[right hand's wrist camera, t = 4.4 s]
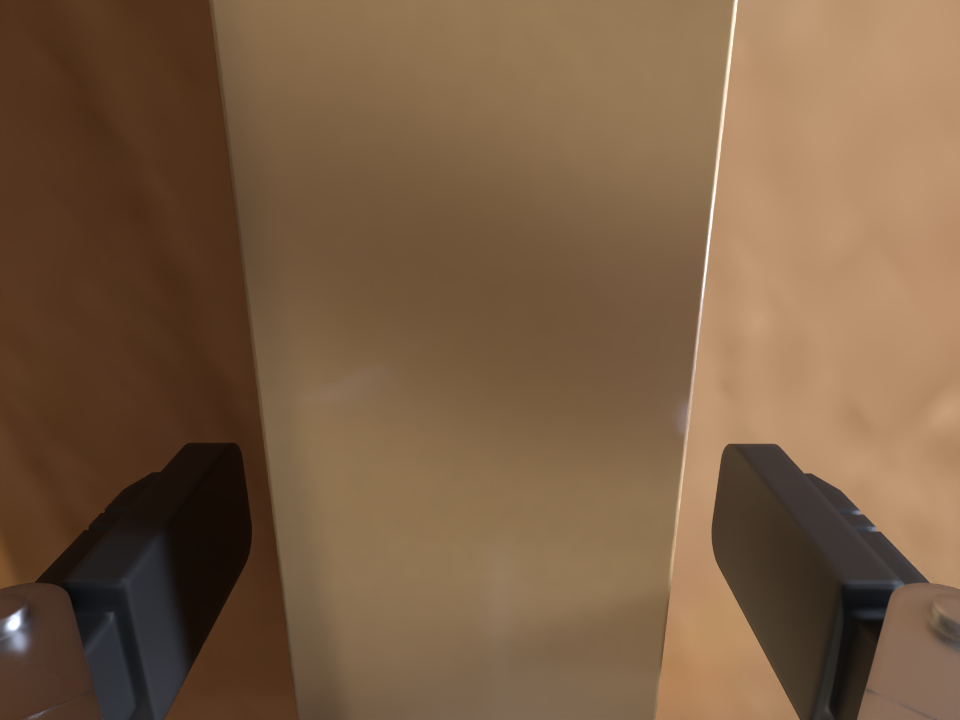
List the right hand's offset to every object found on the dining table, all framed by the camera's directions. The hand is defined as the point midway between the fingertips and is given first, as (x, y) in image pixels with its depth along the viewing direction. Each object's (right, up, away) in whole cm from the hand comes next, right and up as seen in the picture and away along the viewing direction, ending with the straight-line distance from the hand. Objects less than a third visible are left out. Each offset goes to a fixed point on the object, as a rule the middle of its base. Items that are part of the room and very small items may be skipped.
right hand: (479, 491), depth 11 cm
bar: (0, +28, -7) cm, 29 cm away
